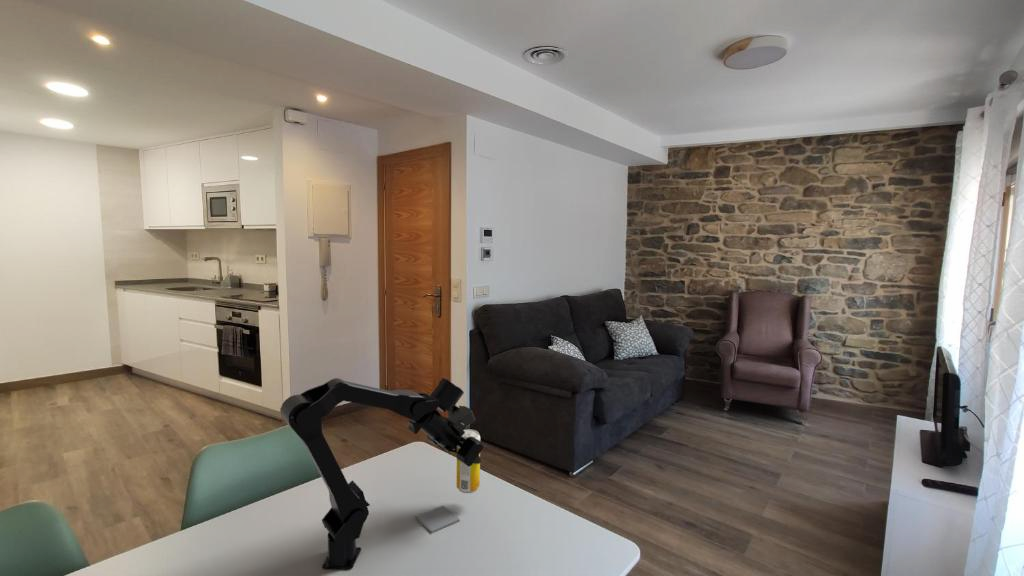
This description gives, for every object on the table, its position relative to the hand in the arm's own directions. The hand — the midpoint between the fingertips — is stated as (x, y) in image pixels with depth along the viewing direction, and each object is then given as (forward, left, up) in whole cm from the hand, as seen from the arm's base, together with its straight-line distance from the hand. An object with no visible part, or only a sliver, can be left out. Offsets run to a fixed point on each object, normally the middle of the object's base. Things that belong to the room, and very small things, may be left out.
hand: (472, 457), depth 123 cm
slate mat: (-7, +8, -13) cm, 17 cm away
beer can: (-1, +1, -8) cm, 8 cm away
